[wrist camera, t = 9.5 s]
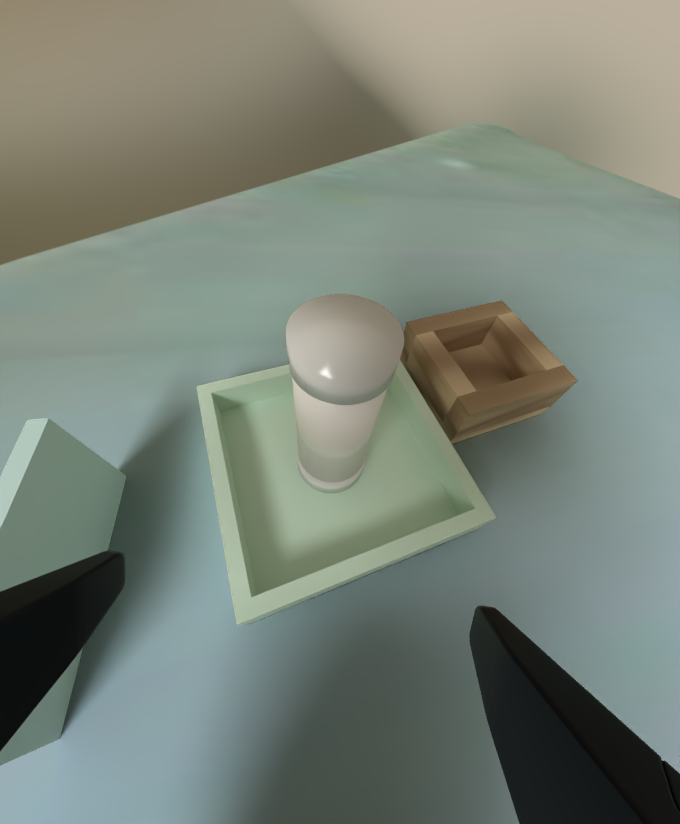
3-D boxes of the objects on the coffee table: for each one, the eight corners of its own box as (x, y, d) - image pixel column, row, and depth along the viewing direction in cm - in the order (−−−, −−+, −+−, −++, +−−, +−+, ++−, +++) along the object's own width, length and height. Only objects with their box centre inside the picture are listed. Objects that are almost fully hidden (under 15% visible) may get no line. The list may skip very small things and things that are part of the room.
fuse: (376, 467, 21) (428, 344, 11) (323, 507, 19) (334, 399, 10) (336, 421, 22) (354, 281, 13) (284, 454, 21) (262, 320, 11)
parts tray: (473, 530, 20) (496, 517, 17) (249, 624, 16) (236, 624, 14) (381, 367, 26) (388, 340, 24) (209, 411, 23) (196, 386, 21)
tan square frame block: (542, 413, 25) (577, 380, 21) (447, 445, 23) (470, 414, 19) (480, 337, 29) (501, 300, 25) (396, 359, 27) (407, 322, 23)
